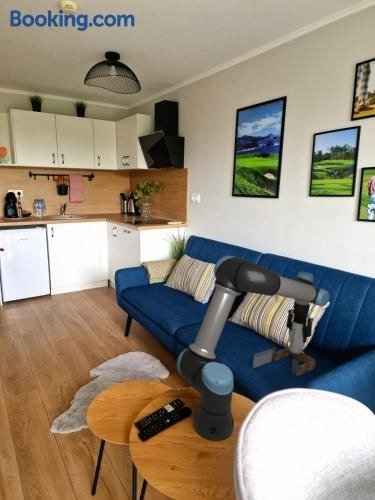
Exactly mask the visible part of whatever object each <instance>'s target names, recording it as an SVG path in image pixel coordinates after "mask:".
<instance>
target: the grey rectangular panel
mask: <svg viewBox="0 0 375 500" xmlns="http://www.w3.org/2000/svg"><path fill="white" fill-rule="evenodd" d="M272 352H273V350H272V348H270V349H266V350H263V351H261V352H257V353H255V354H253V361H252V362H253V363H252V368H253V369H255V368H258V367H261V366H264V365H266V364H269V363H272V362H271V360H272Z"/></svg>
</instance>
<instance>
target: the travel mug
mask: <svg viewBox="0 0 375 500" xmlns="http://www.w3.org/2000/svg"><path fill="white" fill-rule="evenodd" d="M293 317H294V318H292V321H293V325H292V332H291V340H290V342H289V347H290V348H289V351H290V352H291V353H293V354H301V353H303V348H300V343H301V336H303V333H302V327H303V326H302V325H303V323H302V322H304V323H305V322H306V320H307V319H305V320H300V319H299V318H298V317H295V316H294V315H293ZM306 323H307V322H306Z"/></svg>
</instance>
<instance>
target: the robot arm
mask: <svg viewBox="0 0 375 500" xmlns="http://www.w3.org/2000/svg"><path fill="white" fill-rule="evenodd" d="M213 277H214V278H215V280H214V283H213V284H214V287H215V291H214V293H213V295H212V298H211V300H210V303H209V305H208V308H207V311H206V313H205V316H204V318H203V320H202V323H201V325H200V328H199V330H198V333H197V335H196V338H195V340H194V343H191V344H189V346H188V347H187V348H184V349H183V351H181V352H180V353H179V355H178V358H177V361H176V369H177V371H178V373H179V375H180V376H181V377H182V378H183V380H185V381H186V382H187V383H188V384H189V385H190V386H191V387H192V388H193V389H195V390H196V392H197V393H199V396H200V398H199V400H200V401H199V406H198V408H197V411H196V413H195V415H194V418H193V427H194V430H195V431H196V433H197V434H198V435H199V436H201V437H202V438H204V439H206V440H208V441H214V442H219V441H223V440H226V439H228V438H230V437H231V436H232V435H233V433H234V430H235V429H234V428H235V421H234V417H233V413H232V409H231V408H232V402H233V401H232V399H233V391H234V375H233V372H232V370H231V369H230V368H229V367H228V366H227V365H225V364H224V363H219V362H216V354H215V350H216V347H217V345H218V342H219V339H220V338H221V334H222V332H223V329H224V327H225V324H226V322H227V320H228V317H229V314H230V311H231V310H232V307H233V304H234V302H235V299H236V297H238V296H240V295H242V292H246V293H250V294H258V295H264V296H267V297H272V296H275V295H276V296H280V297H285V298H288V299H292V300H293V299H294V302H293V308H291V309H288V310H287V313H288V314H287V318H286V319H287V320H286V324H285V325H286V326H285V327H286V328H288V336H289V337H288V343H290V340H291V332H292V325H293V318H294V316H295V317H298V318H299V319H300V320H305V319H306V322H305V323H304V322H302V323H303V325H302V326H303V327H302V333H303V336H301V343H300V348H302V349H303V348H305V345H306V343H307V340H308V338H310V337H311V336H312V331H313V330H312V328H313V321H314V318H313V317H311V316H309V311H310V307H311V306H310V304H313V305H315V306H319V307H322V308H323V307H325V306H327V304H328V303H329V300H330V292H329V291H328V290H326V289H324V288H322V287H321V288H320V287H317V286H315V285H314V275H313V273H311V272H307V271H299V272H298V273H297V276H296V277H295V278H287V277H284V276H280V274H278V273H277V272H276V271H272V270H270V269H268V268H265V267H263V266H262V265H260V264H257V263H255V262H252V261H248V260H246V259H244V258H240V257H238V256H233V255H225V256H223V257H221V258H219V260H217V262H216V263H215V265H214V266H213Z"/></svg>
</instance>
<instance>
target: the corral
mask: <svg viewBox="0 0 375 500" xmlns="http://www.w3.org/2000/svg"><path fill="white" fill-rule="evenodd" d="M289 348H290V346H287V347H286V348H282V349H280V350H278V351H276V347H275V346H272V347H271V349H272V350H273V352H272V360H271V362H270V363H274V362H275V361H279V360H282V359H284V358H287V357H289V356H291V357H293V359H292V363H291V373H292V374H294V375H295V376H297V377H299V376H301V375H303V374H306V373H307V372H310V371H312V370H314V369H316V367H317V366H316V364H317V359H315V358H313V357H311V356H309V355H307V354H305V353H304V352H302V353H301V354H293V353H291V352H290V351H289ZM286 356H287V357H286ZM300 362H301V363H303V364H300Z"/></svg>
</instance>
